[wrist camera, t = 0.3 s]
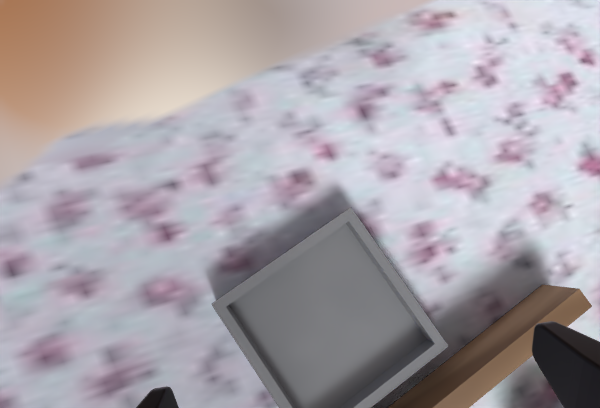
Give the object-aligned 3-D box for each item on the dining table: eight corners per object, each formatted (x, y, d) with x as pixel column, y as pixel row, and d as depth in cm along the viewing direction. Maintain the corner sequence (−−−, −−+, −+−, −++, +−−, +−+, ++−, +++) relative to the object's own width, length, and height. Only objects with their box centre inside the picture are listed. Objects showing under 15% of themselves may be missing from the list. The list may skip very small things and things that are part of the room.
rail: (553, 299, 25) (592, 306, 22) (318, 489, 22) (325, 525, 19) (542, 284, 25) (579, 288, 22) (307, 471, 22) (312, 505, 19)
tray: (436, 339, 24) (448, 346, 22) (307, 440, 22) (310, 455, 21) (345, 210, 24) (351, 207, 23) (216, 300, 23) (211, 304, 21)
